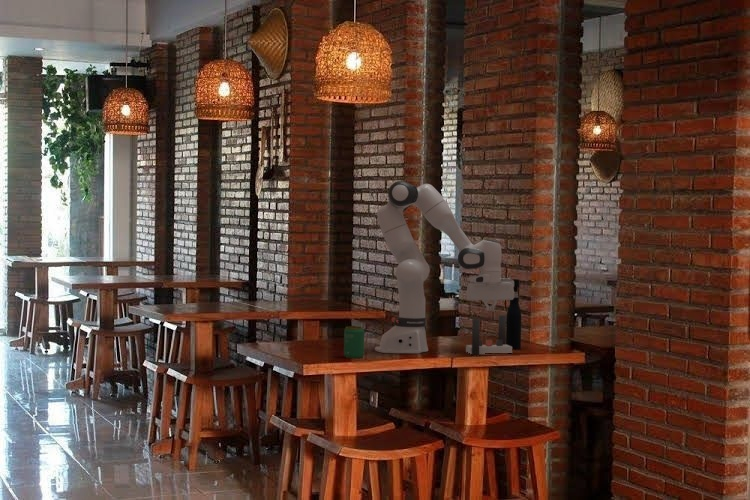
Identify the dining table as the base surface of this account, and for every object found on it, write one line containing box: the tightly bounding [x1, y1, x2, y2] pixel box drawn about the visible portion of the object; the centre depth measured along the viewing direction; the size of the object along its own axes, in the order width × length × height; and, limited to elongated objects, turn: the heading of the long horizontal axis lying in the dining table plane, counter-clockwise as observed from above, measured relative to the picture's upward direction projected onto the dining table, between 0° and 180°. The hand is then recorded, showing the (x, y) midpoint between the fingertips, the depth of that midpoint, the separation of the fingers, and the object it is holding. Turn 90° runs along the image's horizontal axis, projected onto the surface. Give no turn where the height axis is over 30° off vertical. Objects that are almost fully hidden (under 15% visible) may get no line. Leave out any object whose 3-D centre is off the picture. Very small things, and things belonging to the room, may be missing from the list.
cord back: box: [497, 314, 507, 345], centre depth 452 cm, size 3×3×15 cm
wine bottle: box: [505, 278, 522, 350], centre depth 458 cm, size 6×6×30 cm
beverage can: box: [343, 325, 365, 359], centre depth 425 cm, size 8×8×12 cm
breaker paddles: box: [479, 339, 503, 346], centre depth 444 cm, size 11×1×2 cm, turn 102°
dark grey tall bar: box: [471, 318, 481, 356], centre depth 436 cm, size 3×3×15 cm
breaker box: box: [465, 344, 513, 355], centre depth 444 cm, size 18×7×3 cm, turn 102°
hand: (490, 310), depth 443 cm, fingers closed
